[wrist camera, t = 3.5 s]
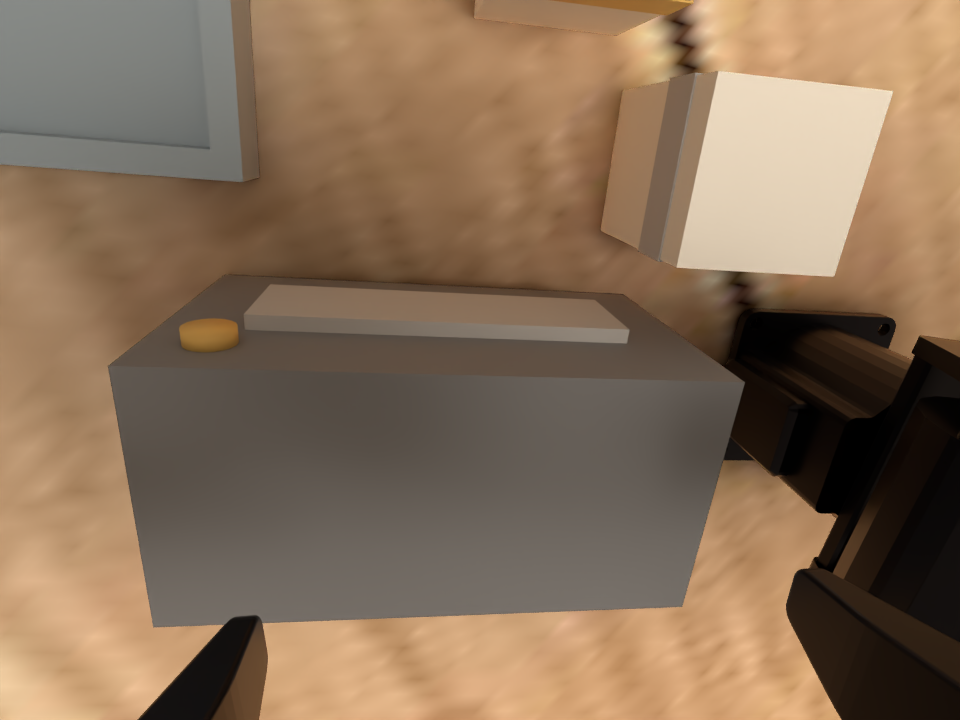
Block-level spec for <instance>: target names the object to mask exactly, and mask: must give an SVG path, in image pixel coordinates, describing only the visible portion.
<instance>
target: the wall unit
mask: <svg viewBox="0 0 960 720" xmlns="http://www.w3.org/2000/svg"><path fill="white" fill-rule="evenodd" d="M108 369H109V374H110V380H111V386H112V392H113V397H114V403H115V409H116V415H117V420H118V426H119V432H120V438H121V443H122V449H123V455H124V461H125V466H126V472H127V478H128V484H129V489H130V495H131V501H132V507H133V512H134V518H135V524H136V530H137V535H138V541H139V547H140V553H141V558H142V564H143V570H144V576H145V581H146V587H147V593H148V599H149V604H150V610H151V616H152V622H153V627H176V626H202V625H225V624H226V623H227V622H228V621H229V620H230V619H231V618H233V617H237V616H249V615H257V616H259V617H260V618H261V620H262V623H279V622H304V621H330V620H356V619H381V618H407V617H433V616H459V615H484V614H510V613H536V612H561V611H587V610H613V609H638V608H664V607H682V605H683V602H684V598H685V595H686V591H687V588H688V584H689V580H690V577H691V573H692V570H693V566H694V563H695V559H696V555H697V552H698V548H699V545H700V541H701V538H702V534H703V530H704V527H705V523H706V520H707V516H708V513H709V509H710V505H711V502H712V498H713V495H714V491H715V488H716V484H717V480H718V477H719V473H720V470H721V466H722V463H723V459H724V455H725V452H726V448H727V445H728V441H729V438H730V434H731V430H732V427H733V423H734V420H735V416H736V413H737V409H738V405H739V402H740V398H741V395H742V391H743V388H744V384H745V382H744V381H742V380H741V379H740V378H738V377H737V376H735V375H734V374H733V373H731V372H730V371H728V370H727V369H726V368H724V367H723V366H722V365H720V364H719V363H717V362H716V361H715V360H713V359H712V358H711V357H709V356H708V355H706V354H705V353H704V352H702V351H701V350H699V349H698V348H697V347H695V346H694V345H693V344H691V343H690V342H688V341H687V340H686V339H684V338H683V337H681V336H680V335H679V334H677V333H676V332H675V331H673V330H672V329H670V328H669V327H668V326H666V325H665V324H664V323H662V322H661V321H659V320H658V319H657V318H655V317H654V316H652V315H651V314H650V313H648V312H647V311H646V310H644V309H643V308H641V307H640V306H639V305H637V304H636V303H634V302H633V301H632V300H630V299H629V298H628V297H626V296H625V295H623V294H606V293H586V292H566V291H546V290H526V289H506V288H485V287H465V286H445V285H425V284H405V283H385V282H364V281H344V280H324V279H304V278H284V277H264V276H243V275H224V276H222V277H221V278H220V279H219V280H217V281H216V282H215V283H213V284H212V285H211V286H210V287H208V288H207V289H206V290H204V291H203V292H202V293H201V294H199V295H198V296H197V297H196V298H194V299H193V300H192V301H190V302H189V303H188V304H187V305H185V306H184V307H183V308H182V309H180V310H179V311H178V312H176V313H175V314H174V315H173V316H171V317H170V318H169V319H167V320H166V321H165V322H164V323H162V324H161V325H160V326H159V327H157V328H156V329H155V330H153V331H152V332H151V333H150V334H148V335H147V336H146V337H144V338H143V339H142V340H141V341H139V342H138V343H137V344H136V345H134V346H133V347H132V348H130V349H129V350H128V351H127V352H125V353H124V354H123V355H121V356H120V357H119V358H118V359H116V360H115V361H114V362H113V363H111V364H110V365H109V366H108Z"/></svg>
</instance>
